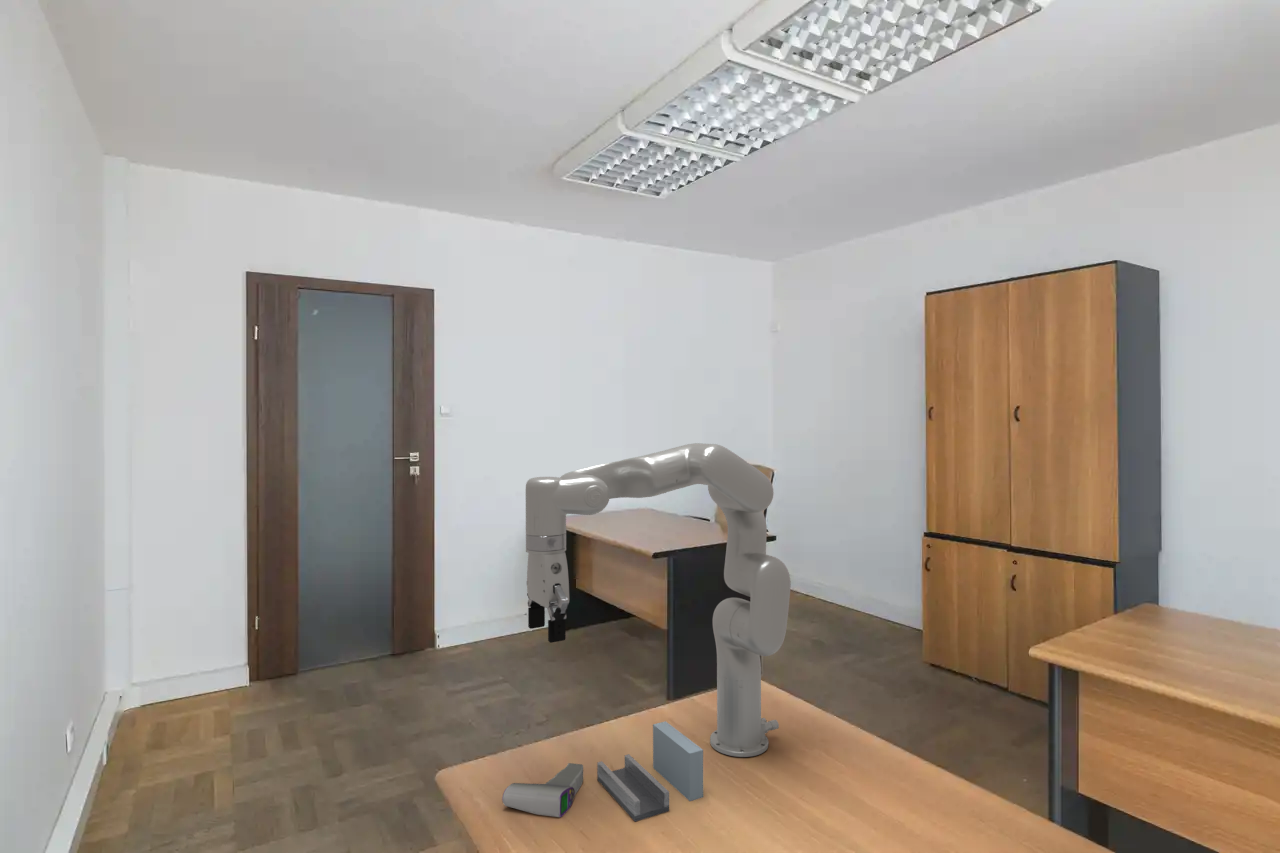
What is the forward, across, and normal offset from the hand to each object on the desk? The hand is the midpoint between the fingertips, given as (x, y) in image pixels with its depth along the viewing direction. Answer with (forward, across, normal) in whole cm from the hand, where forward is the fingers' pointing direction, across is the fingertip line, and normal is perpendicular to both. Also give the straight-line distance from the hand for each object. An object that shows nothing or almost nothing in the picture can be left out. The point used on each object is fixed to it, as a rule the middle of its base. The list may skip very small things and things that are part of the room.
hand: (546, 634), depth 129 cm
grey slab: (+31, -8, -24) cm, 40 cm away
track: (+31, -7, -14) cm, 35 cm away
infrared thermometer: (+31, +1, 0) cm, 31 cm away
